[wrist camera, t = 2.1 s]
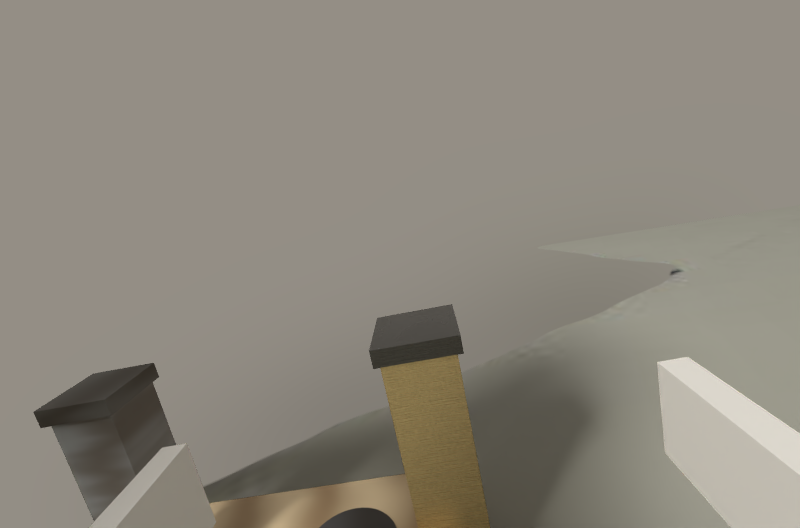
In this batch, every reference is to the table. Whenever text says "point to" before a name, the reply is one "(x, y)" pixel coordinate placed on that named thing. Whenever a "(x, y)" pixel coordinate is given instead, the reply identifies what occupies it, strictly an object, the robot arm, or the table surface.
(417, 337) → the brass leg
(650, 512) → the table surface
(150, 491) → the robot arm
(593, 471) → the table surface
